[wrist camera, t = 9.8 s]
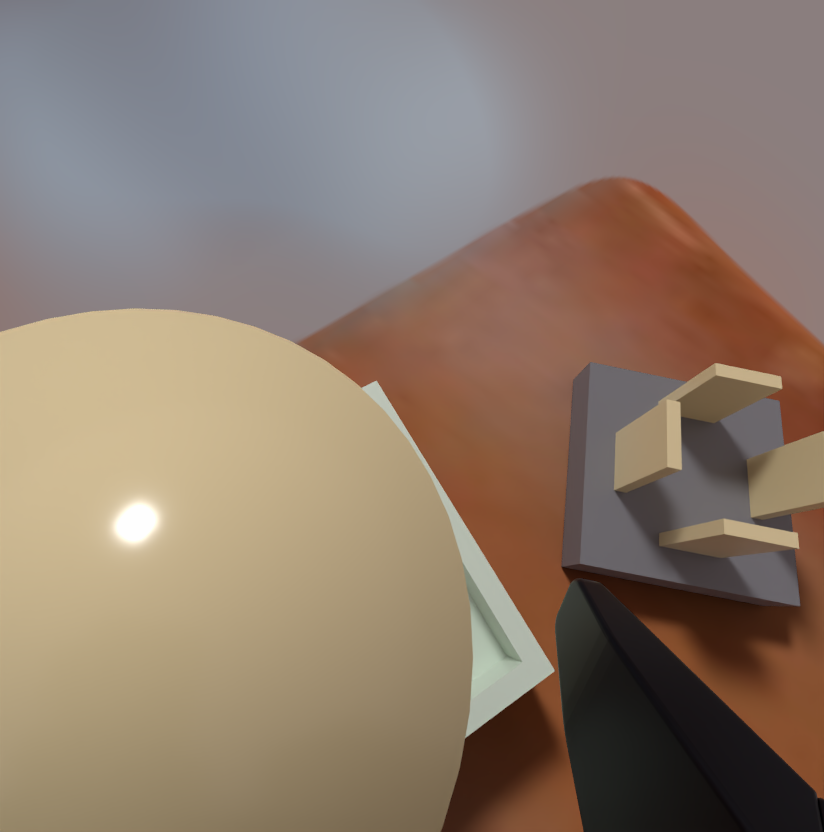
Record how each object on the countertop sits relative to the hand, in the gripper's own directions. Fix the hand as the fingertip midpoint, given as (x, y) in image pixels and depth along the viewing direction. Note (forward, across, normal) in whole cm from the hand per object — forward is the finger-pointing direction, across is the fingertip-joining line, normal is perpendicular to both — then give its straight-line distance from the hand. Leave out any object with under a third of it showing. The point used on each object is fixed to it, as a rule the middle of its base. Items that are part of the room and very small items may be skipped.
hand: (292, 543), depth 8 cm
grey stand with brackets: (+10, -11, +2) cm, 15 cm away
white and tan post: (+4, 0, +6) cm, 7 cm away
